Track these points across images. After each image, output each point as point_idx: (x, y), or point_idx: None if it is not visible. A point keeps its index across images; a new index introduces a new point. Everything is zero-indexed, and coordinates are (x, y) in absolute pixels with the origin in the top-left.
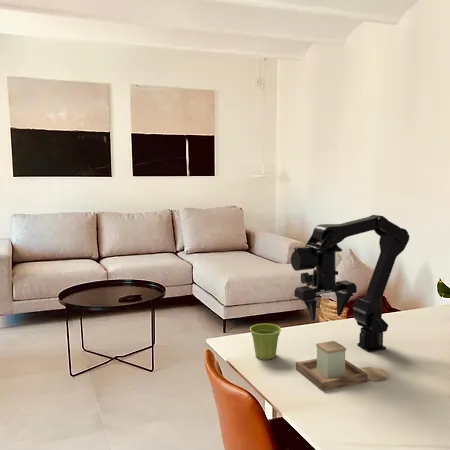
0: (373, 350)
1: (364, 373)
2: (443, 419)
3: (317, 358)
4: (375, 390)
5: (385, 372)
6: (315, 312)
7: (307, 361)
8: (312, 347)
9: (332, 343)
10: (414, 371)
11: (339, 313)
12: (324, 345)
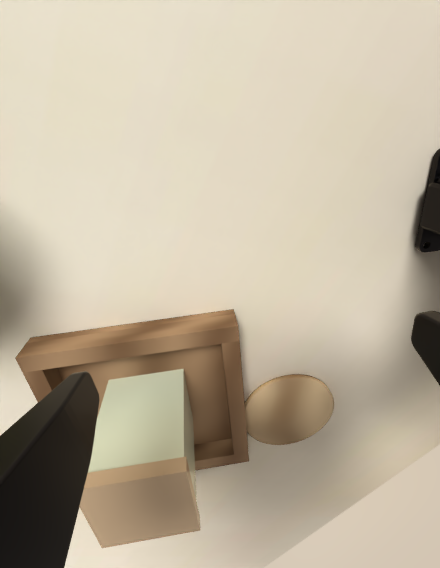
0: (437, 248)
1: (241, 457)
2: (286, 549)
3: (97, 425)
4: (235, 473)
5: (325, 416)
6: (68, 537)
7: (73, 359)
8: (190, 99)
9: (160, 494)
10: (410, 406)
11: (431, 364)
12: (109, 508)
